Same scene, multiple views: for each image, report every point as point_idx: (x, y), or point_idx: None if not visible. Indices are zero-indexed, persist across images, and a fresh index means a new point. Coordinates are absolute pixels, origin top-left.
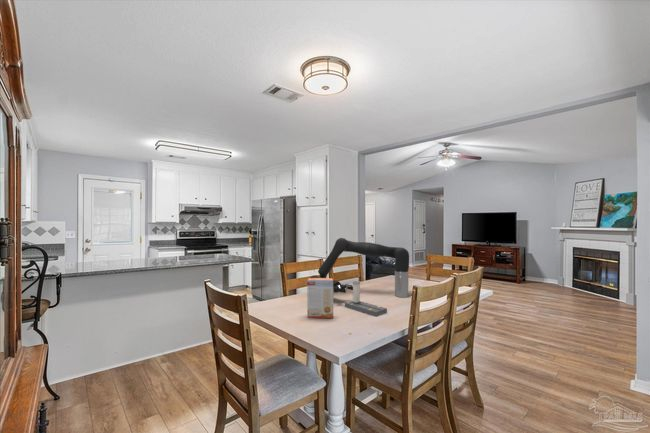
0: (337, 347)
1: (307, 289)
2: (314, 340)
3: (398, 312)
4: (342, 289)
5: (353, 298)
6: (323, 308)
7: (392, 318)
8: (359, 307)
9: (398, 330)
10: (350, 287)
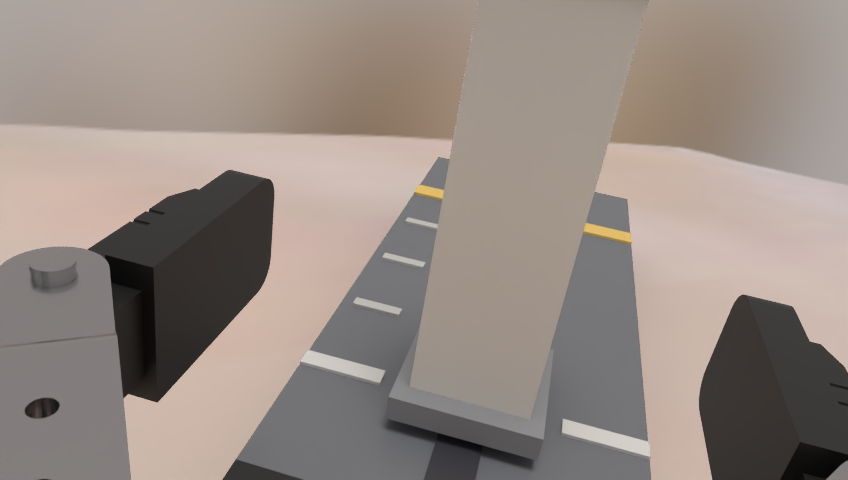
0: None
1: None
2: None
3: (357, 155)
4: (816, 392)
5: (547, 352)
6: None
7: None
8: (635, 323)
9: (715, 156)
10: (162, 302)
